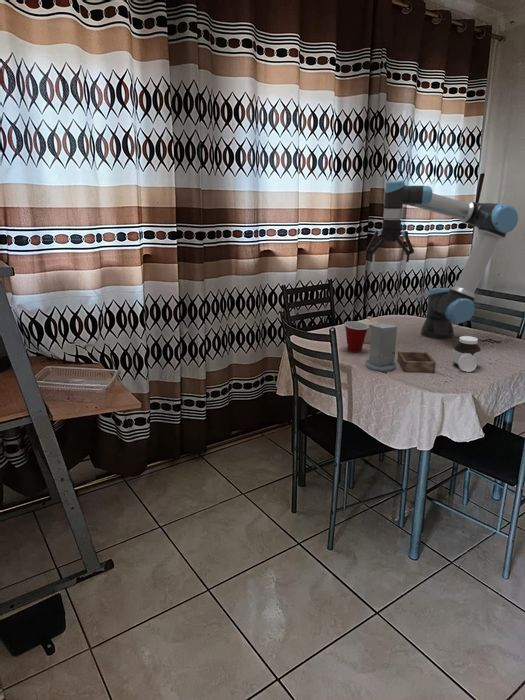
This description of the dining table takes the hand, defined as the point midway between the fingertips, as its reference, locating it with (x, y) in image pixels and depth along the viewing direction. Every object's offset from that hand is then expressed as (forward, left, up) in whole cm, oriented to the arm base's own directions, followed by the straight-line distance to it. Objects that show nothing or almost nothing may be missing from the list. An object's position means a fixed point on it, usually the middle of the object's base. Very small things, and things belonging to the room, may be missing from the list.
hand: (388, 269), depth 213 cm
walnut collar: (-9, +27, -35) cm, 45 cm away
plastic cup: (+13, +8, -35) cm, 38 cm away
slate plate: (+5, +28, -35) cm, 45 cm away
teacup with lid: (+7, -7, -35) cm, 36 cm away
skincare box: (+5, +28, -34) cm, 44 cm away
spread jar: (-29, +27, -35) cm, 53 cm away
